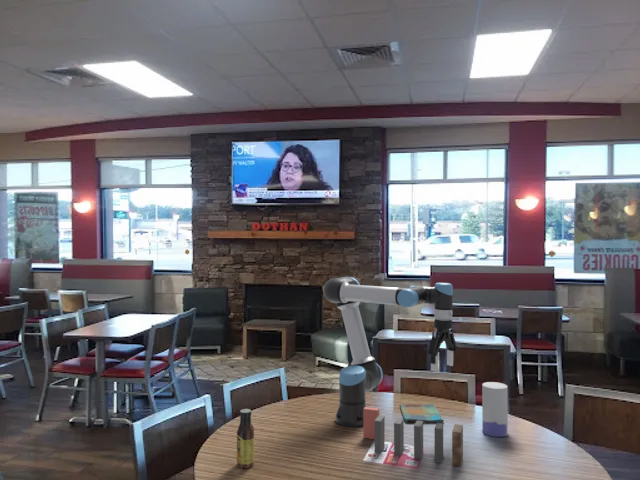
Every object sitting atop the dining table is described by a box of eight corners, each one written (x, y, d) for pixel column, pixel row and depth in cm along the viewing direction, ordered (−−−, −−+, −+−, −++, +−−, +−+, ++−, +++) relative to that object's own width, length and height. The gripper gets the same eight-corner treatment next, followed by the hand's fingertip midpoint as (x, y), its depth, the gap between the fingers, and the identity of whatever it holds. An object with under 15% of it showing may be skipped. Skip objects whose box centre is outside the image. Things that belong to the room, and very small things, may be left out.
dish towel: (404, 424, 223) (405, 419, 223) (398, 407, 247) (398, 402, 247) (444, 425, 222) (444, 419, 222) (434, 407, 246) (434, 402, 246)
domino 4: (434, 461, 185) (434, 428, 185) (436, 454, 191) (436, 422, 191) (441, 462, 184) (441, 429, 184) (443, 455, 190) (443, 423, 190)
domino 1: (374, 452, 193) (374, 420, 193) (378, 446, 199) (378, 415, 199) (380, 453, 192) (380, 421, 192) (384, 447, 198) (384, 416, 198)
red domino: (377, 440, 205) (377, 410, 205) (363, 438, 207) (363, 408, 207) (379, 437, 207) (379, 408, 207) (365, 435, 209) (365, 406, 209)
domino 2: (394, 455, 190) (394, 423, 190) (397, 448, 196) (397, 417, 196) (400, 456, 189) (400, 423, 189) (403, 449, 195) (403, 418, 195)
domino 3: (414, 458, 188) (414, 425, 188) (416, 451, 193) (416, 420, 193) (420, 459, 187) (420, 426, 187) (423, 452, 192) (423, 421, 192)
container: (507, 429, 216) (507, 382, 216) (507, 438, 206) (507, 389, 206) (482, 427, 219) (482, 380, 219) (482, 435, 209) (482, 387, 209)
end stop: (452, 465, 182) (452, 431, 182) (454, 456, 189) (454, 424, 189) (460, 466, 181) (460, 432, 181) (462, 457, 188) (462, 425, 188)
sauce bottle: (237, 461, 185) (237, 407, 185) (254, 461, 185) (254, 406, 185) (235, 469, 178) (235, 413, 178) (253, 469, 179) (253, 412, 179)
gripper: (436, 323, 206) (435, 375, 206) (465, 317, 224) (463, 364, 224) (420, 321, 211) (419, 371, 211) (449, 314, 229) (448, 361, 230)
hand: (442, 368), depth 218 cm, fingers open, 13 cm apart
